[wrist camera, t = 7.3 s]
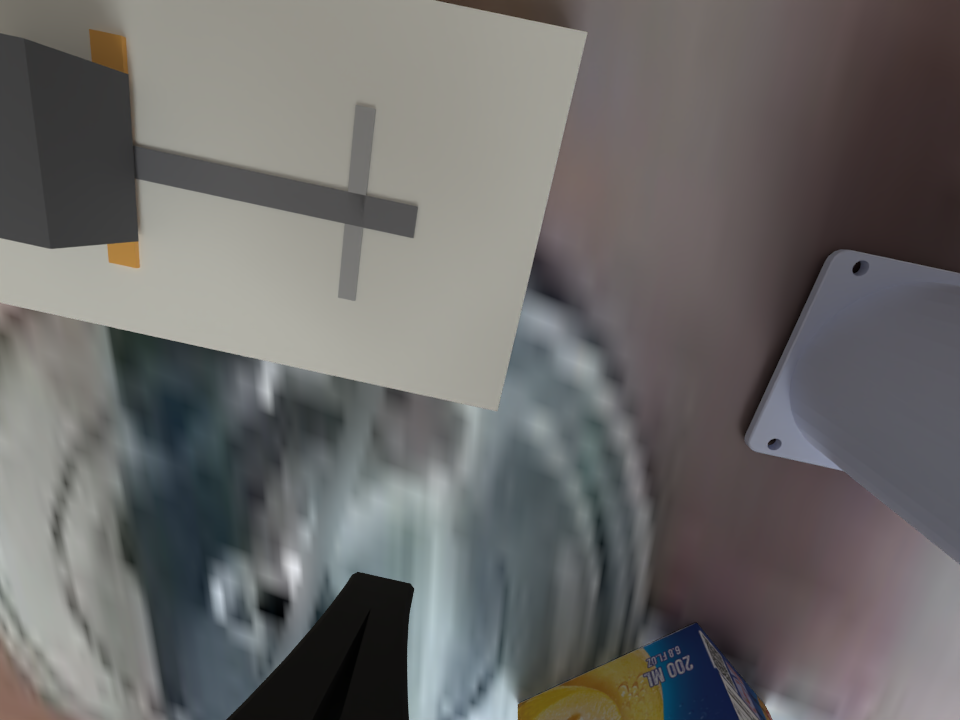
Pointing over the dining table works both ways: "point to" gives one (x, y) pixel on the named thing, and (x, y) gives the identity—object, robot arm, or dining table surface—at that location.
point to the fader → (64, 149)
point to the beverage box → (654, 686)
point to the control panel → (318, 182)
